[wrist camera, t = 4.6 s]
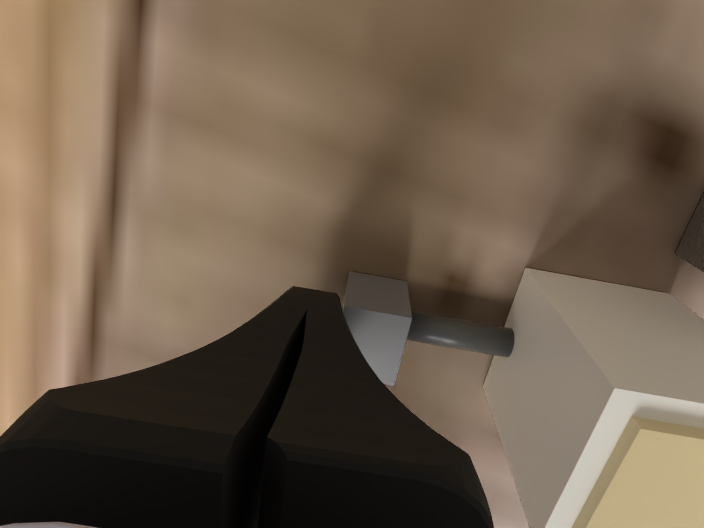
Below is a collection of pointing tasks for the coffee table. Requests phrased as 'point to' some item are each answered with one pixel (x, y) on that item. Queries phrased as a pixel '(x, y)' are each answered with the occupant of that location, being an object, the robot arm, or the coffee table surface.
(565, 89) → the coffee table surface
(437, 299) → the coffee table surface
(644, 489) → the wall lamp
